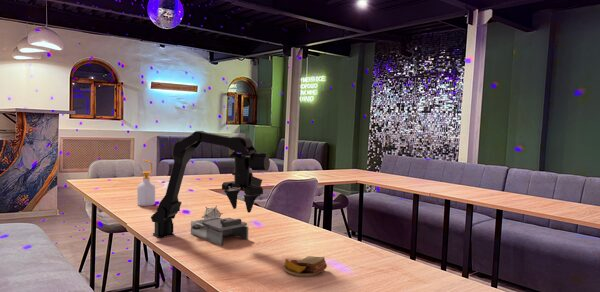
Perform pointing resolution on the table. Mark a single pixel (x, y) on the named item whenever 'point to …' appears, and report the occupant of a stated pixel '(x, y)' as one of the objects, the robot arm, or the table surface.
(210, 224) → the lid
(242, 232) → the grey rectangular box
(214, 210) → the game die
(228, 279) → the table surface
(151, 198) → the soap bottle
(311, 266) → the toy sandwich meal
